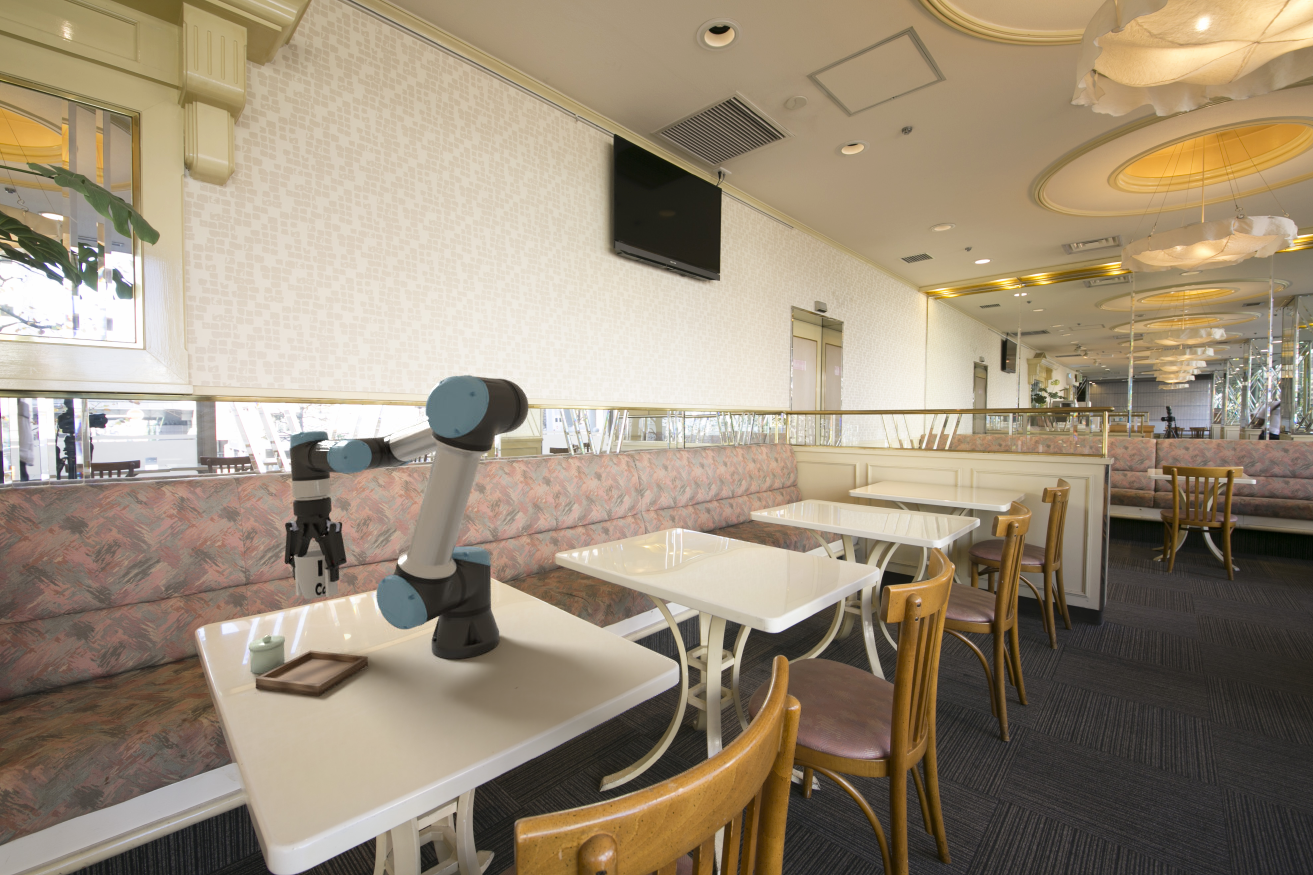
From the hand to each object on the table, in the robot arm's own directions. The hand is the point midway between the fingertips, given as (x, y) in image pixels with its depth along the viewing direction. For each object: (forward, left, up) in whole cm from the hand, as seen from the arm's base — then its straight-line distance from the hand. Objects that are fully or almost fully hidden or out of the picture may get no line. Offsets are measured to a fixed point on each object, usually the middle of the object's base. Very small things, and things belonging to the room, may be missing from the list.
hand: (317, 594), depth 127 cm
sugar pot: (+2, +11, -13) cm, 17 cm away
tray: (-11, +12, -12) cm, 21 cm away
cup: (0, 0, -1) cm, 1 cm away
